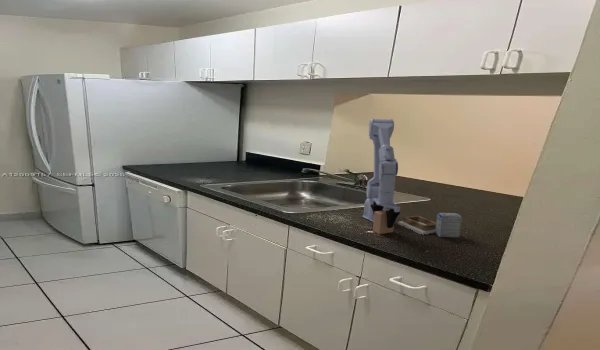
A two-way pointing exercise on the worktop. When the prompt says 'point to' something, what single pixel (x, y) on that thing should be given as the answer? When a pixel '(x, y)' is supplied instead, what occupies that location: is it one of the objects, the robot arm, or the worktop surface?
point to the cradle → (419, 224)
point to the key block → (381, 222)
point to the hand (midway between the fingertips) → (383, 224)
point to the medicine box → (448, 224)
